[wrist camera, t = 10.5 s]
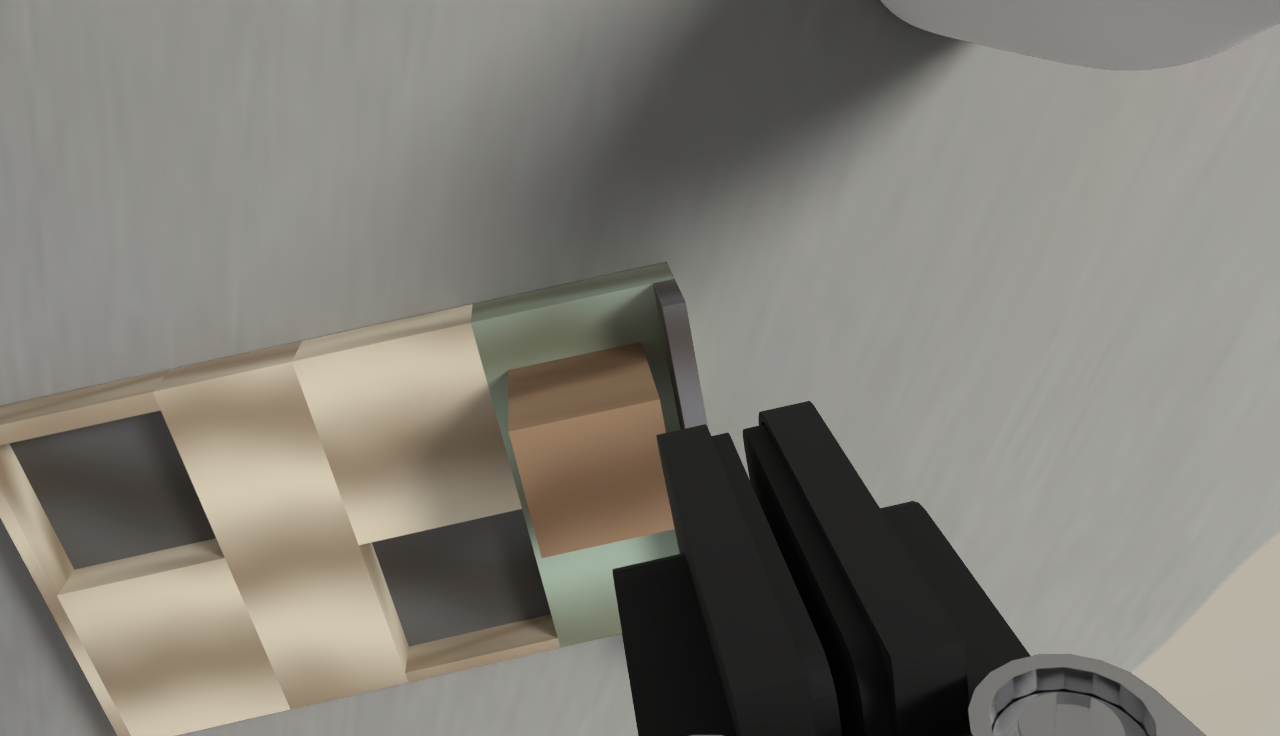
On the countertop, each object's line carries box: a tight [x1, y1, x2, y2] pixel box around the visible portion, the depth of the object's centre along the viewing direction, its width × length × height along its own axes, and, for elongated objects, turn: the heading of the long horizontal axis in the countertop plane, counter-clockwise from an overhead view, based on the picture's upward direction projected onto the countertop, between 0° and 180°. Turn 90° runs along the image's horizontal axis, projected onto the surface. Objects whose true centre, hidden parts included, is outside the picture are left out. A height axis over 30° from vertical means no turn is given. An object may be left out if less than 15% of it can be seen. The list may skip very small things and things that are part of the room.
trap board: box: [0, 262, 708, 736], centre depth 39 cm, size 15×26×4 cm, turn 102°
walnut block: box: [508, 342, 675, 558], centre depth 36 cm, size 5×5×5 cm
